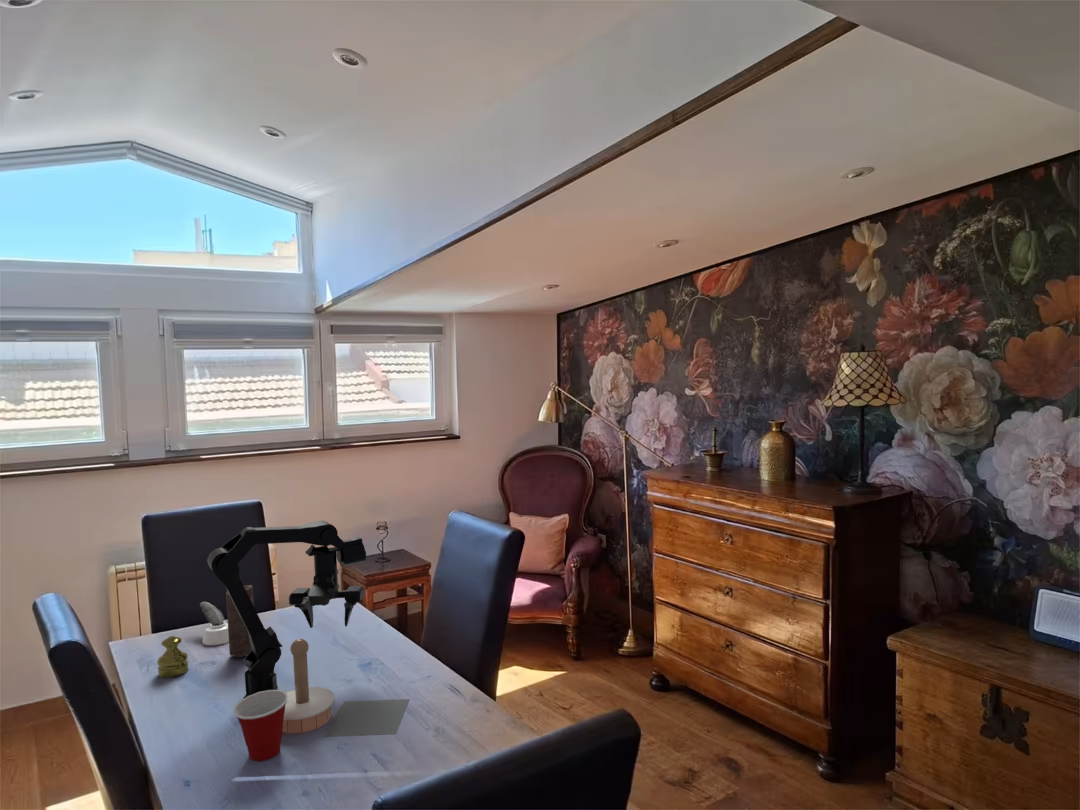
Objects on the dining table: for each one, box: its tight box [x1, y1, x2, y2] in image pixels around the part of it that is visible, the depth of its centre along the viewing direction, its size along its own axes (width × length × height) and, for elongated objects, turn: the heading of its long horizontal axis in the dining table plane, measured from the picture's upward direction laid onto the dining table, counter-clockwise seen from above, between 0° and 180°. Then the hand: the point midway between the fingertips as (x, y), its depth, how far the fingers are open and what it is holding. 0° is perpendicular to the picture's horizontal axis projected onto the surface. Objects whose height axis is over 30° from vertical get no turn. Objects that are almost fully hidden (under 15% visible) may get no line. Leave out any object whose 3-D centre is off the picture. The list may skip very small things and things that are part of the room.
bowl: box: [282, 706, 333, 734], centre depth 161 cm, size 12×12×4 cm
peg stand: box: [283, 638, 335, 720], centre depth 160 cm, size 14×14×16 cm
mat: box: [323, 698, 410, 738], centre depth 161 cm, size 16×16×1 cm
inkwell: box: [199, 601, 229, 646], centre depth 216 cm, size 9×18×10 cm, turn 50°
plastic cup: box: [232, 689, 288, 762], centre depth 146 cm, size 11×11×12 cm
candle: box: [225, 584, 255, 658], centre depth 200 cm, size 8×7×20 cm
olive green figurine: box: [157, 635, 189, 679], centre depth 190 cm, size 7×7×10 cm
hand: (329, 626), depth 185 cm, fingers open, 9 cm apart
